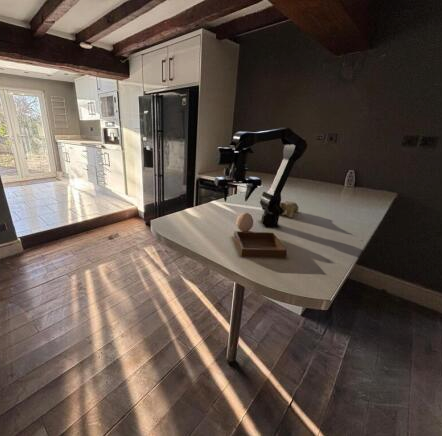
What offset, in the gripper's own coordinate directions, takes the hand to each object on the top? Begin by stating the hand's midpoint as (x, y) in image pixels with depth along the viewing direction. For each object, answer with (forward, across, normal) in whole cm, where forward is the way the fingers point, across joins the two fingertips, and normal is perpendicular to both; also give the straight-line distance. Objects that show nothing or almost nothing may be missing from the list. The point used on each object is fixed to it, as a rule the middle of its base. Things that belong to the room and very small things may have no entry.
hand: (235, 201), depth 100 cm
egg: (+13, -4, +3) cm, 14 cm away
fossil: (+13, -36, -17) cm, 42 cm away
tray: (+13, -4, +18) cm, 23 cm away
